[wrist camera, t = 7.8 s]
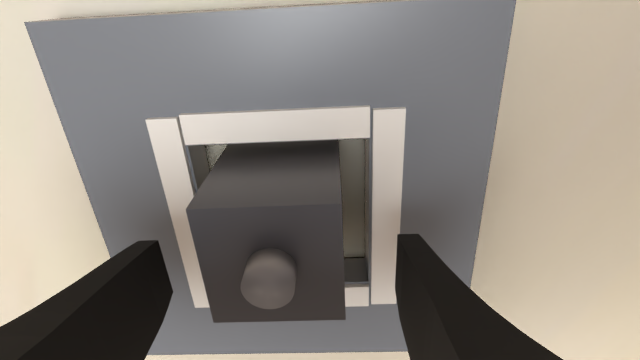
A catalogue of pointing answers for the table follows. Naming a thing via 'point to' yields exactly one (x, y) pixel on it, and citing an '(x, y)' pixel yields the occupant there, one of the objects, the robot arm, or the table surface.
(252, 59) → the socket plate
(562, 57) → the table surface
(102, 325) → the robot arm
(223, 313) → the plug block
